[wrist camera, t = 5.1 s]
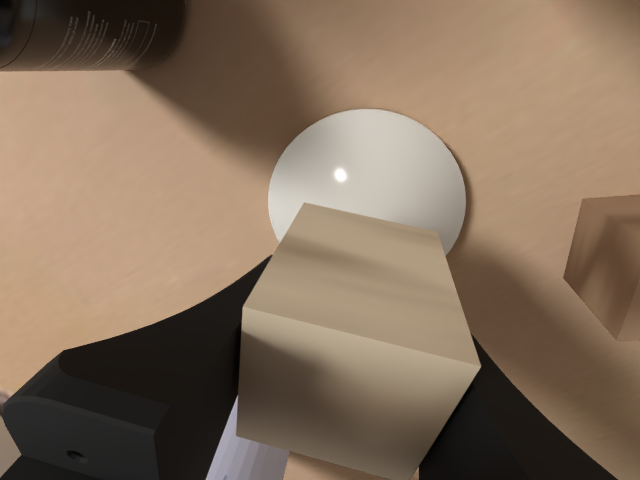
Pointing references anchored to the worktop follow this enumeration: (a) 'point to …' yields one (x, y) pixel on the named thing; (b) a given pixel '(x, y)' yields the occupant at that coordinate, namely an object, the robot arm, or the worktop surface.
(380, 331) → the beech block
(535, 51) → the worktop surface
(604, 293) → the walnut block
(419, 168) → the coaster
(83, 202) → the worktop surface
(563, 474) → the robot arm
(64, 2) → the supplement bottle
